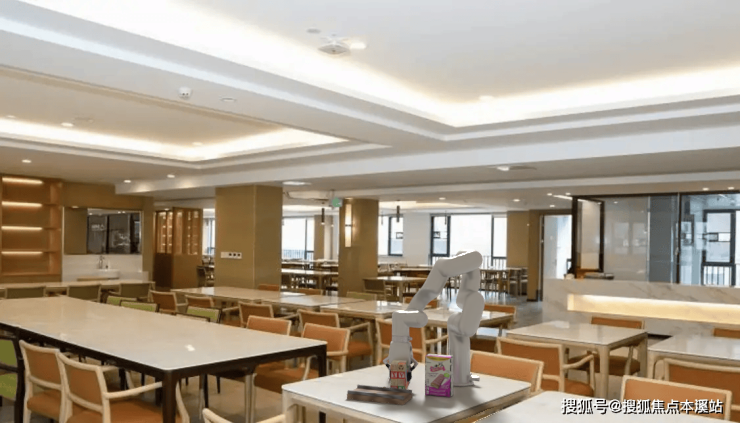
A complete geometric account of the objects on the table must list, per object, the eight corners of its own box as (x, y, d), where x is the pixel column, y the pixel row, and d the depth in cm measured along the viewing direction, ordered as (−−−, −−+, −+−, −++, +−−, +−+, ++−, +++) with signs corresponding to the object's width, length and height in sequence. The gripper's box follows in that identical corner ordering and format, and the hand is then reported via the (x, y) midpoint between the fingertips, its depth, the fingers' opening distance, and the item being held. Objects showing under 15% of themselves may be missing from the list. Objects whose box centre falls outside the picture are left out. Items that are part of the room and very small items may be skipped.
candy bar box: (424, 395, 250) (424, 355, 251) (427, 392, 255) (427, 353, 256) (451, 397, 246) (451, 357, 247) (453, 394, 251) (453, 355, 252)
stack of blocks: (396, 381, 275) (396, 353, 276) (410, 381, 274) (410, 354, 275) (390, 392, 254) (390, 363, 255) (405, 393, 253) (405, 363, 254)
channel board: (412, 397, 247) (412, 389, 247) (403, 405, 236) (403, 396, 236) (358, 391, 256) (358, 383, 256) (346, 398, 245) (346, 390, 245)
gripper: (422, 339, 264) (422, 380, 264) (385, 336, 271) (384, 376, 270) (416, 341, 258) (416, 383, 257) (378, 339, 264) (378, 380, 263)
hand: (400, 379), depth 264 cm, fingers closed on stack of blocks, 7 cm apart
